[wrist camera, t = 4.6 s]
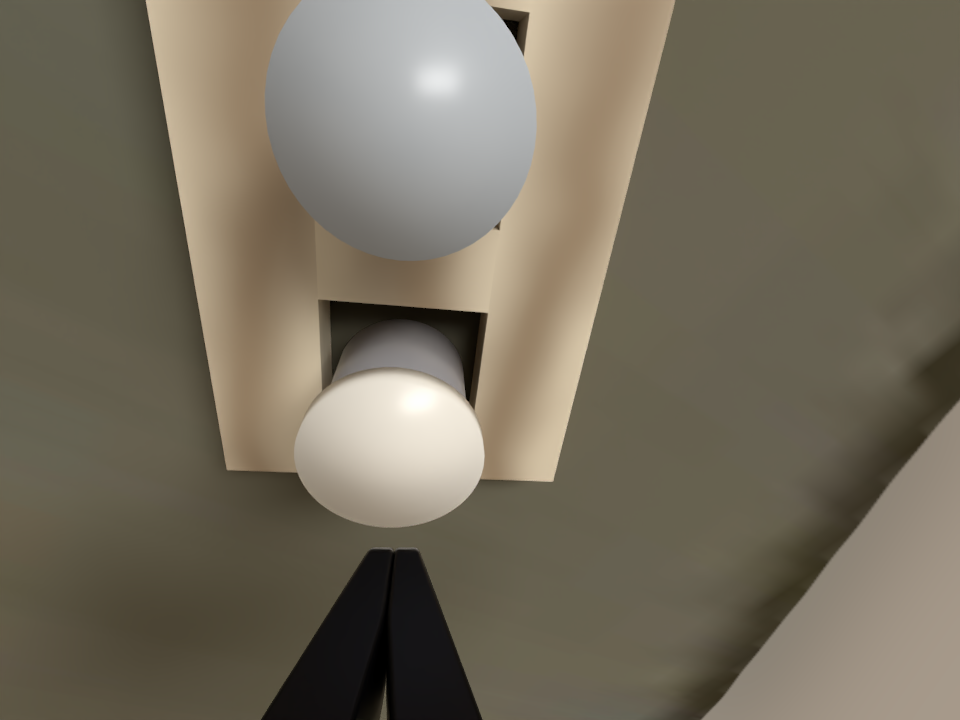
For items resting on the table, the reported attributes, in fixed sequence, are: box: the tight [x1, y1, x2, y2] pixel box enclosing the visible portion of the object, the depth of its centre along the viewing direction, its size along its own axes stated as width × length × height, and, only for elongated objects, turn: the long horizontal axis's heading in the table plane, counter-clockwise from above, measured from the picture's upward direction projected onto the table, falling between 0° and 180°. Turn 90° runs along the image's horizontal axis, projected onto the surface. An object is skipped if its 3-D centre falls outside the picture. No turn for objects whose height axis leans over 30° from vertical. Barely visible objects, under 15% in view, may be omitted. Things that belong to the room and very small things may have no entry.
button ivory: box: [294, 319, 485, 528], centre depth 17 cm, size 6×6×5 cm
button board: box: [146, 0, 675, 482], centre depth 15 cm, size 14×28×2 cm, turn 173°
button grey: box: [265, 0, 537, 261], centre depth 12 cm, size 6×6×5 cm
